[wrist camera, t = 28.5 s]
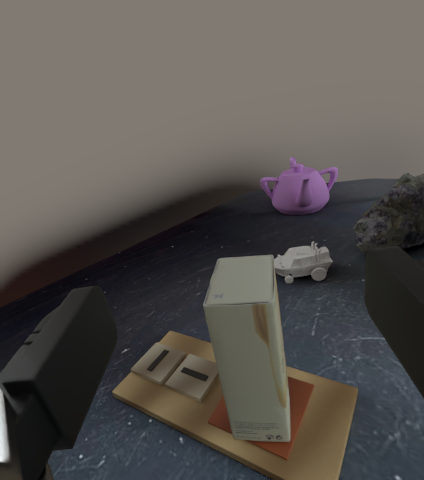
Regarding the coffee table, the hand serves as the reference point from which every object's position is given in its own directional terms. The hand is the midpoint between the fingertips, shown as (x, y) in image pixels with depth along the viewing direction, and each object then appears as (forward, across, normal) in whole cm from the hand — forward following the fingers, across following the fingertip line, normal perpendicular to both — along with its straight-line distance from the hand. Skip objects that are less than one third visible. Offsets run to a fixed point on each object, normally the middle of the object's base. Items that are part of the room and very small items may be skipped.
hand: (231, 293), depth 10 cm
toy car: (+30, -8, +19) cm, 36 cm away
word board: (+12, +3, +19) cm, 22 cm away
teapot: (+56, -13, +19) cm, 60 cm away
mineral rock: (+35, -22, +19) cm, 46 cm away
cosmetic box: (+10, 0, +18) cm, 21 cm away
